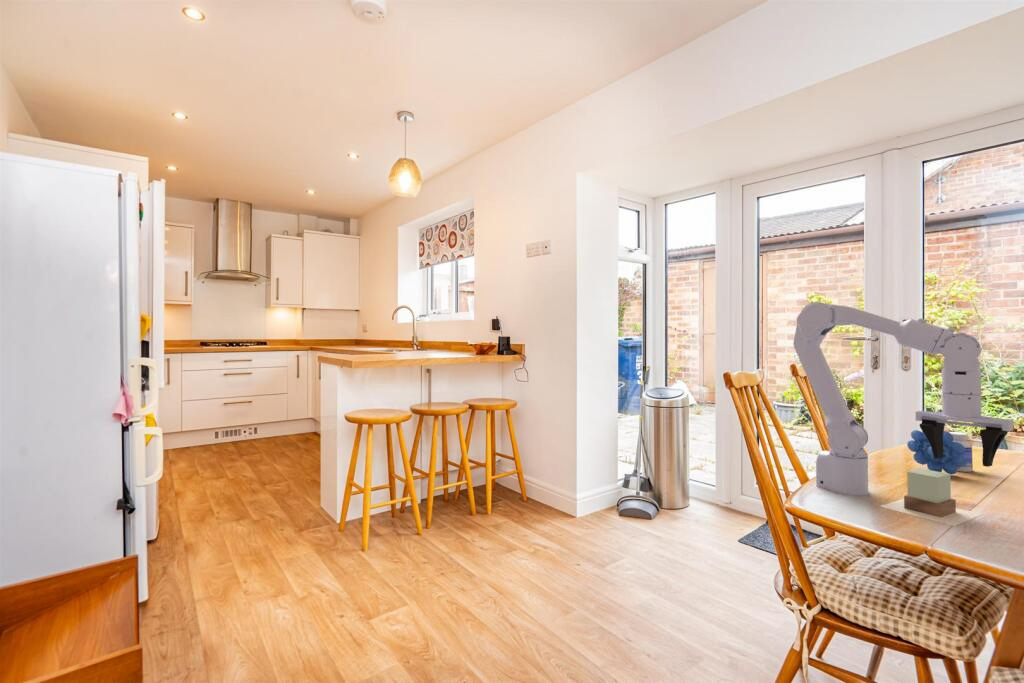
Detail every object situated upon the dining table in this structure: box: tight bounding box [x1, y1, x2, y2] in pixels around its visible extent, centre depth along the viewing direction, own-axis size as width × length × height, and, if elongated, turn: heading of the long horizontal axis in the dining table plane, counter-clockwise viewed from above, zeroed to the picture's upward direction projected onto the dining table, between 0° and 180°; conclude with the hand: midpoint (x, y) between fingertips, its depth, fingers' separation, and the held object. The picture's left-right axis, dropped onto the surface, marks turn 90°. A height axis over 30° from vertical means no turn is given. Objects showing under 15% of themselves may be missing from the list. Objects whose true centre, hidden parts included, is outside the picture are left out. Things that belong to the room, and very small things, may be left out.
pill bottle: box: [948, 431, 974, 473], centre depth 129 cm, size 5×5×10 cm
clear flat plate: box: [879, 498, 983, 527], centre depth 97 cm, size 12×12×1 cm
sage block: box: [906, 467, 952, 503], centre depth 97 cm, size 5×5×5 cm
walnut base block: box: [903, 494, 957, 518], centre depth 97 cm, size 6×6×2 cm
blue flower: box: [906, 429, 967, 475], centre depth 125 cm, size 12×7×12 cm, turn 43°
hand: (962, 461), depth 97 cm, fingers open, 7 cm apart
